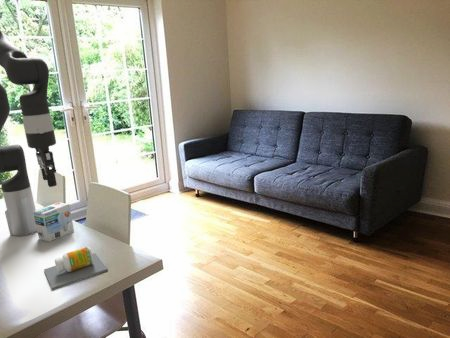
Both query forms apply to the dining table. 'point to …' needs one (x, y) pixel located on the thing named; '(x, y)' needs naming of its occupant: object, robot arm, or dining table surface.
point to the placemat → (74, 273)
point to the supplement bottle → (75, 260)
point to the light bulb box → (53, 221)
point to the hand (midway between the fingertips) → (49, 182)
